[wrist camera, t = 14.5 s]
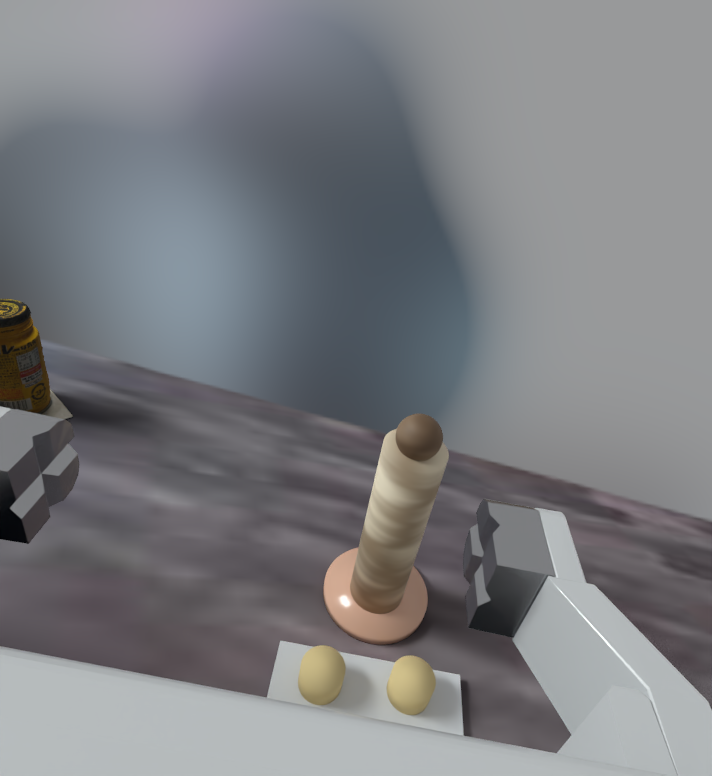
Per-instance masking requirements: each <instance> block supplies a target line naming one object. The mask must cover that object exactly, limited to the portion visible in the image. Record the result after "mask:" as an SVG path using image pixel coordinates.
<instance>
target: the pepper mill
mask: <svg viewBox="0 0 712 776" xmlns="http://www.w3.org/2000/svg"><path fill="white" fill-rule="evenodd" d="M442 441H443V434H442V430H441V427H440V426H439V424H438V423H437V422H436V421H435V420H434V419H433V418H432V417H430V416H427V415H425V414H413V415H410V416H408V417H406V418H405V419H404V420H403V421H401V423H400V424H399V426H398V428H397V429H395V430H393V431H391V432H389V433H388V434H387V435H386V436H385V438H384V441H383V445H382V450H381V454H380V458H379V462H378V467H377V471H376V475H375V480H374V484H373V488H372V493H371V497H370V501H369V505H368V510H367V514H366V518H365V523H364V527H363V531H362V536H361V540H360V544H359V548H358V553H357V557H356V561H355V566H354V570H353V574H352V579H351V583H350V592H351V595H352V597H353V599H354V601H355V602H356V603H357V604H358V605H359V606H360V607H361V608H362V609H364V610H366V611H368V612H370V613H374V614H386V613H389V612H391V611H393V610H395V609H396V608H397V607H398V606H399V604H400V603H401V601H402V598H403V595H404V592H405V589H406V586H407V583H408V580H409V576H410V573H411V570H412V567H413V564H414V561H415V558H416V555H417V552H418V549H419V546H420V543H421V540H422V537H423V534H424V531H425V528H426V525H427V522H428V519H429V516H430V513H431V510H432V507H433V504H434V501H435V498H436V495H437V492H438V488H439V485H440V482H441V479H442V476H443V473H444V470H445V467H446V464H447V461H448V458H449V453H448V450H447V447H446V446H445V444H444V443H443V442H442Z"/></svg>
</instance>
